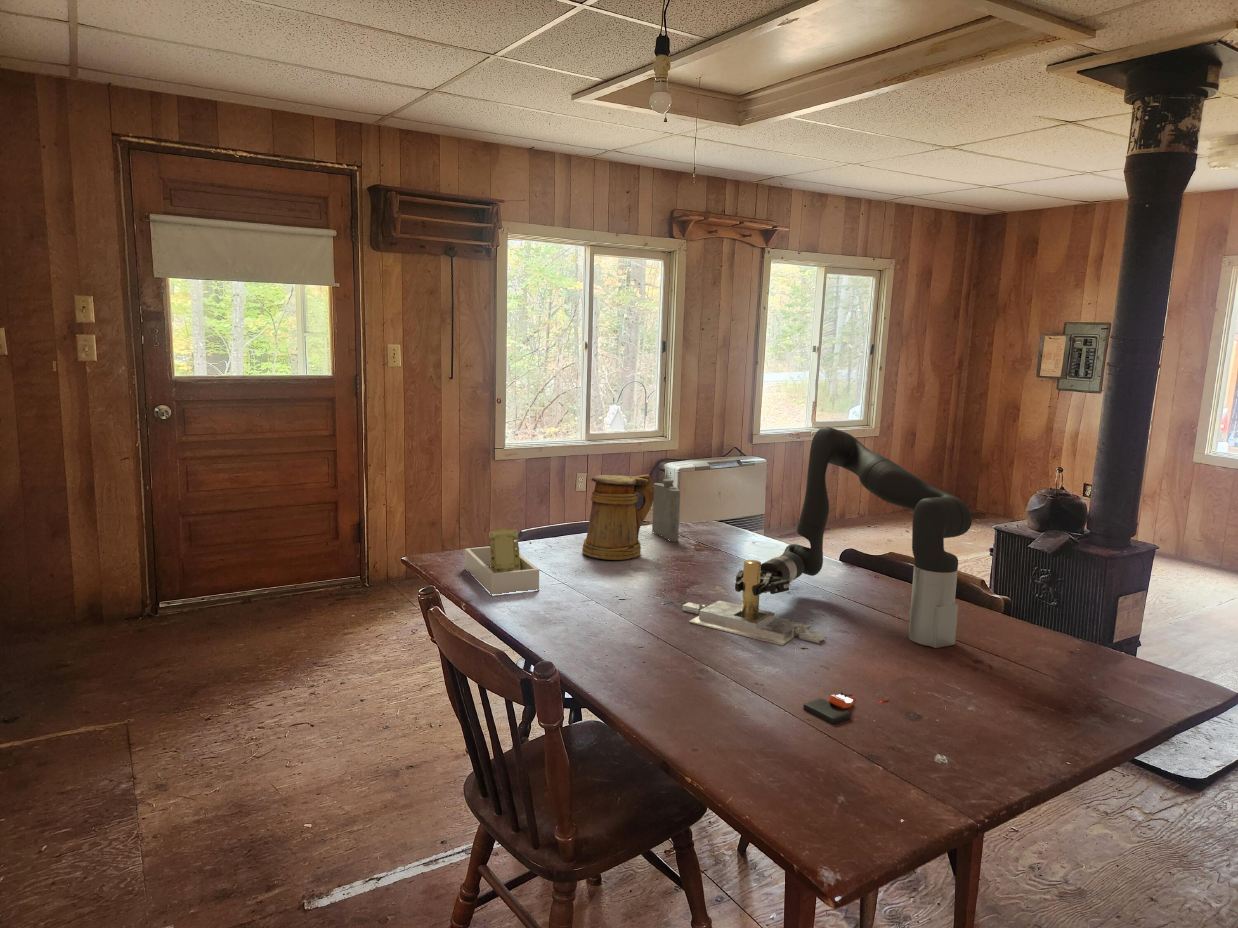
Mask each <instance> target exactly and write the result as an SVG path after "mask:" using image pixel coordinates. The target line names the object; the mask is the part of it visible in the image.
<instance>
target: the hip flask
mask: <svg viewBox="0 0 1238 928" xmlns="http://www.w3.org/2000/svg"><path fill="white" fill-rule="evenodd" d="M662 481H663V482H661V483H660V482H654V483H653V486H654V499H653V504H652V522H651V523H652V525H651V527H652V528H651V529H652V531H651V532H654V533H653V534H655V533H656V534H655V535H657V534H660V535H662V536H664V537H666V538H667V539H669V540H670V541H678V542H679V534H680V533H679V529H680V527H679V526H680V499H681V490H680V489H679V488H677V487H675V486H674V482H675V481H674V479H672V478H671V479H668V478H667V479H662ZM660 535H659V536H660ZM662 536H661V537H662ZM664 537H663V538H664ZM666 538H665V539H666ZM667 539H666V540H667ZM669 540H668V541H669ZM670 541H669V542H670Z"/></svg>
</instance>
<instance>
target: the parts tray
mask: <svg viewBox="0 0 1238 928" xmlns="http://www.w3.org/2000/svg"><path fill="white" fill-rule="evenodd" d="M516 558H517V557H516ZM487 566H491V554H490V546H479V547H469V548H468V547H467V548H464V569H465V568H466V569H467V570H468V571H469V572H471V574H472V575H474V577H475V578H476V579H477V580H478V581H479V582H480V583H481V584H482V585H483V586H484V587H485V588H486V589H487V590H488V591H489V592H490V594H491V595H492V594H502V593H509V592H516V591H528V590H536V589H537V590H538V589H539V590H540V569H539V568H538V567H537V566H535V564H533V563H532V562H530V560H528V559H527V558H525V557H524V556H523V555H522V554H520V569H521V570H519V571H508V572H498V573H494V572H493V571H492V570H491V568H490V567H487ZM516 567H517V565H516ZM466 569H465V570H466ZM467 570H466V571H467ZM468 571H467V572H468ZM469 572H468V573H469Z"/></svg>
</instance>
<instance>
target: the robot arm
mask: <svg viewBox="0 0 1238 928" xmlns="http://www.w3.org/2000/svg"><path fill="white" fill-rule="evenodd" d="M808 458H809V459H808V466H807V468H808V469H807V476H806V479H807V480H806V488H805V495H804V500H803V504H802V505H803V506H802V509H801V513H800V516H799V520H798V522H797V523H798V524H797V529H796V532H797V534H798V535H799V536H801V537H802V538H804V539H806V540H808V542H809V544H810V545H809V546H810V547H807V546H804V545H800V544H798V543H797V544H796V543H793V544H792V543H791V544H789V545H787V546H786V547H785V549H784V552H783V553H782V554H781V555H779V556H775V557H773V558H771V559H769V560H767V561H764V562H761V572H760V584H758V585H756V586H754V588H753V595H755V596H757V595H759V596H760V595H762V594H767V593H769V594H771V595H774V594H775V595H776V594H780V593H784V592H788V591H790V583H792V582H793V581H794V580H796V579H798V578H800V576H802V575H803V574H804V575H808V576H813V577H814V576H817V575H818V574H820V572H821V570H822V568H823V565H824V552H823V551H824V549H823V548H824V547H823V546H824V545H823V544H824V534H825V530H826V526H827V522H828V518H829V514H830V503H829V502H830V501H829V496H828V491H827V485H826V481H827V480H826V477H827V476H826V474H827V469H828V465H830V464H831V465H833V466H837V467H840V468H843V469H844V470H848V471H850V472H851V473H853V474H855V476H857V477H858V479H859V482H860V483H861V486H863V487H864V488H865V490H867V491H868V492H869V493H871V494H873V495H874V496H875V497H877V498H879V499H880V500H882V501H884V502H887V503H889V504H891V505H895V506H897V507H902V508H906V509H908V510H912V511H913V513H912V528H911V529H912V532H911V534H912V537H911V538H912V539H911V549H912V554H913V558H914V560H913V562H914V563H913V575H912V586H911V600H910V610H909V611H910V613H909V624H908V625H909V626H908V635H907V636H908V639H909V640H910V641H912V642H914V643H915V644H918V645H919V644H920V645H921V646H927V647H931V648H935V649H938V648H944V647H948V646H953V645H956V636H957V627H958V626H957V625H958V624H957V623H958V615H959V604H958V603H956V592H957V591H956V590H957V583H958V581H957V580H958V569H959V558H958V557H957V556H956V555H955V554H953V553H951V552H948V551H945V546H944V545H945V542H944V541H945V539H947V538H955V537H960V536H962V535H965V534H966V533H967V532H968V531H969V530H970V529H971V526H972V522H973V517H972V513H971V510H970V508H969V507H968V505H967V504H966V503H965V502H964V501H963V500H962V499H960V498H959V497H957V496H955V495H952V494H950V493H948V492H946V491H943V490H941V489H939V488H937V487H934V486H932V485H931V484H929V483H927V482H926V481H925V480H923V479H921V478H919V477H918V476H917V475H915V474H913V473H911V472H910V471H908V470H907V469H905V468H903V467H902V466H901V465H899V464H897V463H896V462H894V461H892V460H890V459H889V458H886V457H885V456H882V455H881V454H878V453H876V452H873V451H872V450H870V449H869V448H867V447H866V446H865V445H864V444H863V443H862V442H860V441H859V440H857V438H855V437H854V436H853V435H851V434H850V433H847V432H846V431H843V430H839V429H836V428H833V427H829V426H824V427H821V428H819V429H818V430H817V431H816V432H815V434H814V435H813V437H812V440H811V443H810V450H809V457H808ZM734 590H735V592H738V593H740V592H742V591H743V569H740V570H738V572H737V574H736V575H735V583H734Z"/></svg>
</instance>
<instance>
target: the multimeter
mask: <svg viewBox="0 0 1238 928" xmlns="http://www.w3.org/2000/svg"><path fill="white" fill-rule="evenodd" d="M852 698H853V699H852ZM854 699H856V697H855V696H854V695H850V694H846V693H844V692H842V691H841V692H840V694H830V696H829V698H828V700H826V699H823V698H817V699H814V700H811V701H808V702H805V703H803V705H802V706H803V710H804V711H806V712H808V713H811V714H812V715H814V716H816V717H818V718H820V719H822V720H824V721H826V722H827V723H829V724H831V725H836V724H839V723H843V722H846V721H848V720H851V717H852V713H851V711H848V710H846V709H849V708H851V707H852V706H853V704H854ZM888 701H889V698H885V699H884V700H882V701H879V702H878V704H882V703H885V702H888Z"/></svg>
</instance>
